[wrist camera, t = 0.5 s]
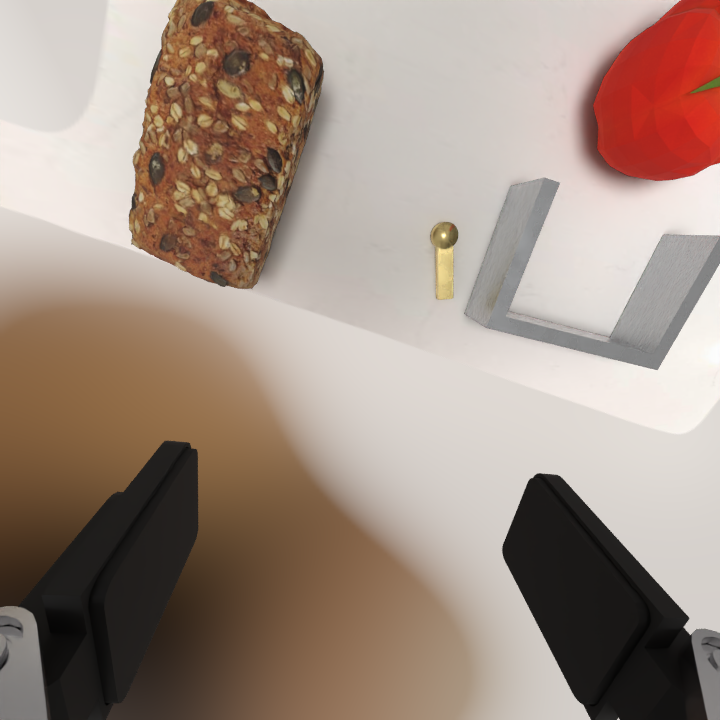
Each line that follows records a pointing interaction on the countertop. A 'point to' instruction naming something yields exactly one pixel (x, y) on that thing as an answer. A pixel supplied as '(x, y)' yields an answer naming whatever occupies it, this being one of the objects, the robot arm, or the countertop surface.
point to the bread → (221, 138)
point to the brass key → (444, 258)
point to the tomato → (664, 97)
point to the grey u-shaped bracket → (644, 310)
